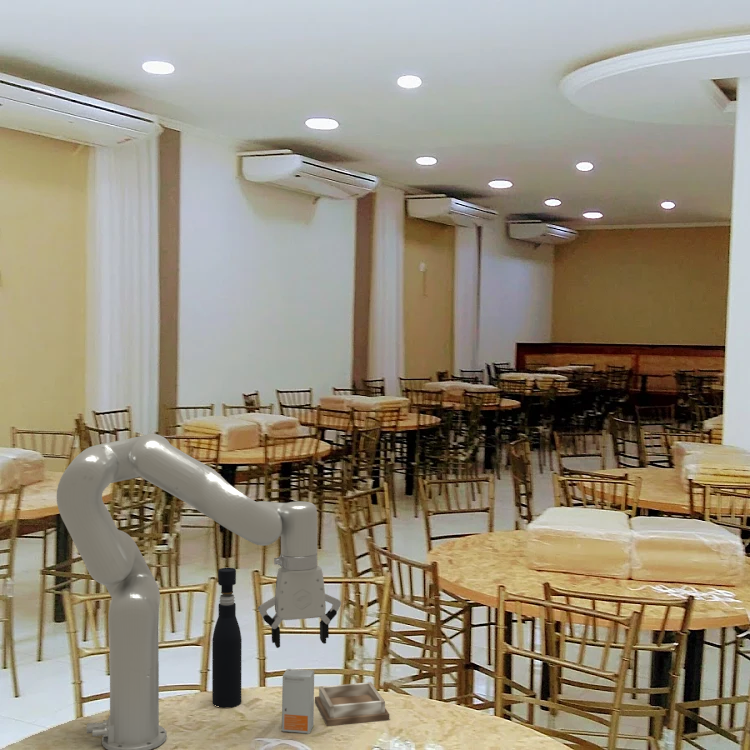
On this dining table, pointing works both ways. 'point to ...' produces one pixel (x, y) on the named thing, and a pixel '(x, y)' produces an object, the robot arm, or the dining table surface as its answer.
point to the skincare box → (298, 700)
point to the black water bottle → (226, 646)
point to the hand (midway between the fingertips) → (300, 643)
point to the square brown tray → (351, 704)
